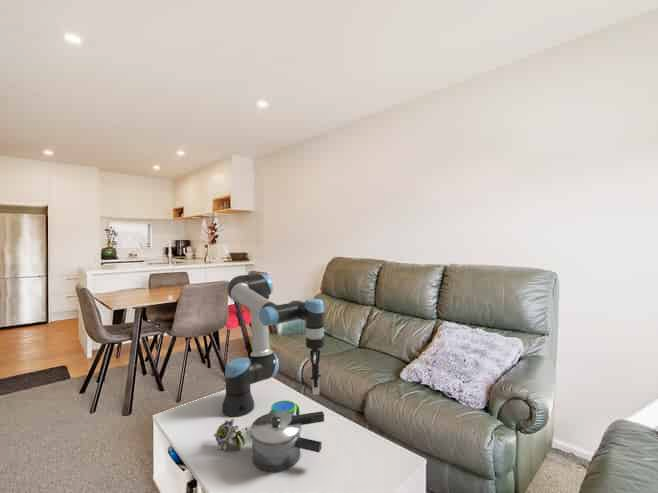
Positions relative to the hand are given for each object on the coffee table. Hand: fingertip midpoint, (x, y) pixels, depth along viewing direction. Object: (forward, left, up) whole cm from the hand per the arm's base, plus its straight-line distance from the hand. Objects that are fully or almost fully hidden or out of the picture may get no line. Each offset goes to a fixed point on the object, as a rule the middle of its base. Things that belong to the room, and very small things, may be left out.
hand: (315, 393), depth 138 cm
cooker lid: (+13, -6, -8) cm, 17 cm away
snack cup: (-1, -16, -19) cm, 25 cm away
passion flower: (+16, -31, -19) cm, 40 cm away
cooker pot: (+16, -5, -19) cm, 25 cm away
